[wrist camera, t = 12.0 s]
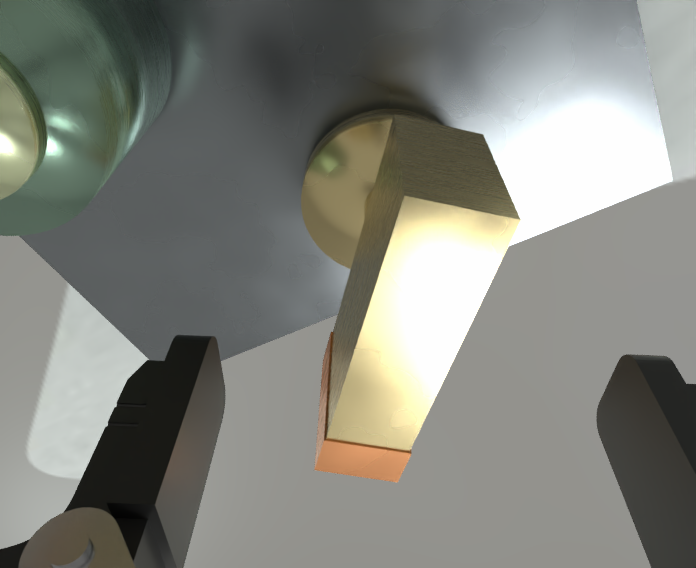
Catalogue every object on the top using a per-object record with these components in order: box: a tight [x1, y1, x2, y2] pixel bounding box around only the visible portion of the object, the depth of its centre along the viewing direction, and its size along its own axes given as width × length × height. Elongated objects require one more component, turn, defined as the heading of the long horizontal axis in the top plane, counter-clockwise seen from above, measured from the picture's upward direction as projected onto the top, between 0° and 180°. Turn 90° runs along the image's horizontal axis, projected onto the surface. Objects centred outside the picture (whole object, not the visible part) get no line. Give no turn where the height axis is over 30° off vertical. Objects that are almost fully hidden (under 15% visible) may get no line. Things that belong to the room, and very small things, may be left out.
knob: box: [301, 109, 521, 482], centre depth 14 cm, size 8×5×8 cm
